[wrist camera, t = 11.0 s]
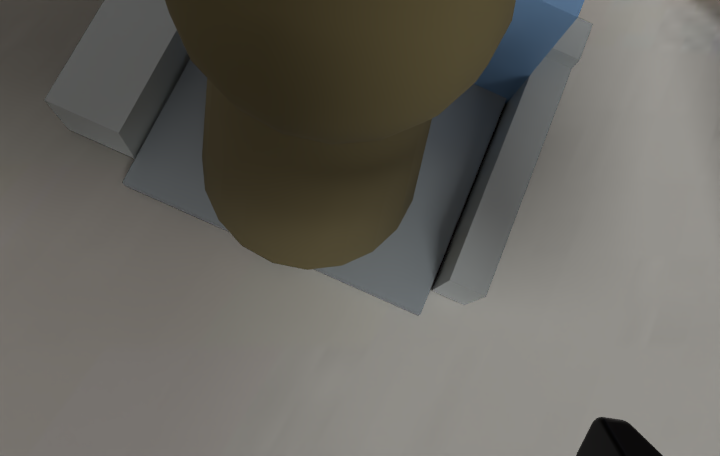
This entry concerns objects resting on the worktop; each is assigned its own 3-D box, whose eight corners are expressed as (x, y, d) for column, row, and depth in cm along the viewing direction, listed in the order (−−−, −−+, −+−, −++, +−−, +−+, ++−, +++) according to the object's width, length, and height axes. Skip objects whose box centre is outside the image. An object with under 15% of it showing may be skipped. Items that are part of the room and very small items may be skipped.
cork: (280, 313, 18) (282, 213, 7) (159, 130, 19) (-2, -207, 8) (459, 194, 19) (684, -39, 9) (340, 28, 20) (411, -379, 9)
